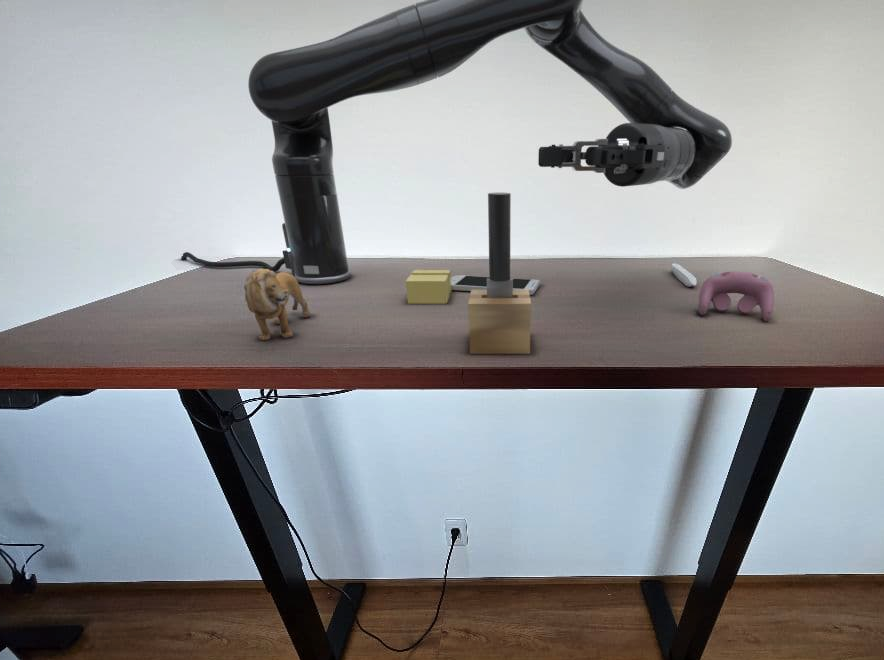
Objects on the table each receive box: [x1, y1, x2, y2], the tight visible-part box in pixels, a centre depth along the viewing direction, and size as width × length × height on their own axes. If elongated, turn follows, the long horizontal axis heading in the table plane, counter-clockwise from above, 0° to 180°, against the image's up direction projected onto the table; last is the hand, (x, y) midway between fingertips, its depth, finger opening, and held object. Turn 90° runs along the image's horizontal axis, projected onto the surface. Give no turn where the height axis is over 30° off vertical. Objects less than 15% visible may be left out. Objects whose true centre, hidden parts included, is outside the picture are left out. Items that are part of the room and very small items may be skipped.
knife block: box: [467, 290, 532, 355], centre depth 57 cm, size 7×6×6 cm
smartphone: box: [451, 274, 541, 296], centre depth 82 cm, size 7×16×1 cm, turn 77°
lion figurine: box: [243, 268, 311, 341], centre depth 61 cm, size 15×5×9 cm, turn 13°
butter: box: [405, 269, 452, 305], centre depth 76 cm, size 6×7×4 cm
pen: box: [670, 263, 698, 287], centre depth 88 cm, size 2×14×2 cm, turn 178°
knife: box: [487, 192, 513, 298], centre depth 55 cm, size 3×2×17 cm
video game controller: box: [698, 270, 775, 322], centre depth 69 cm, size 10×5×7 cm, turn 71°
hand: (568, 157), depth 56 cm, fingers open, 8 cm apart
